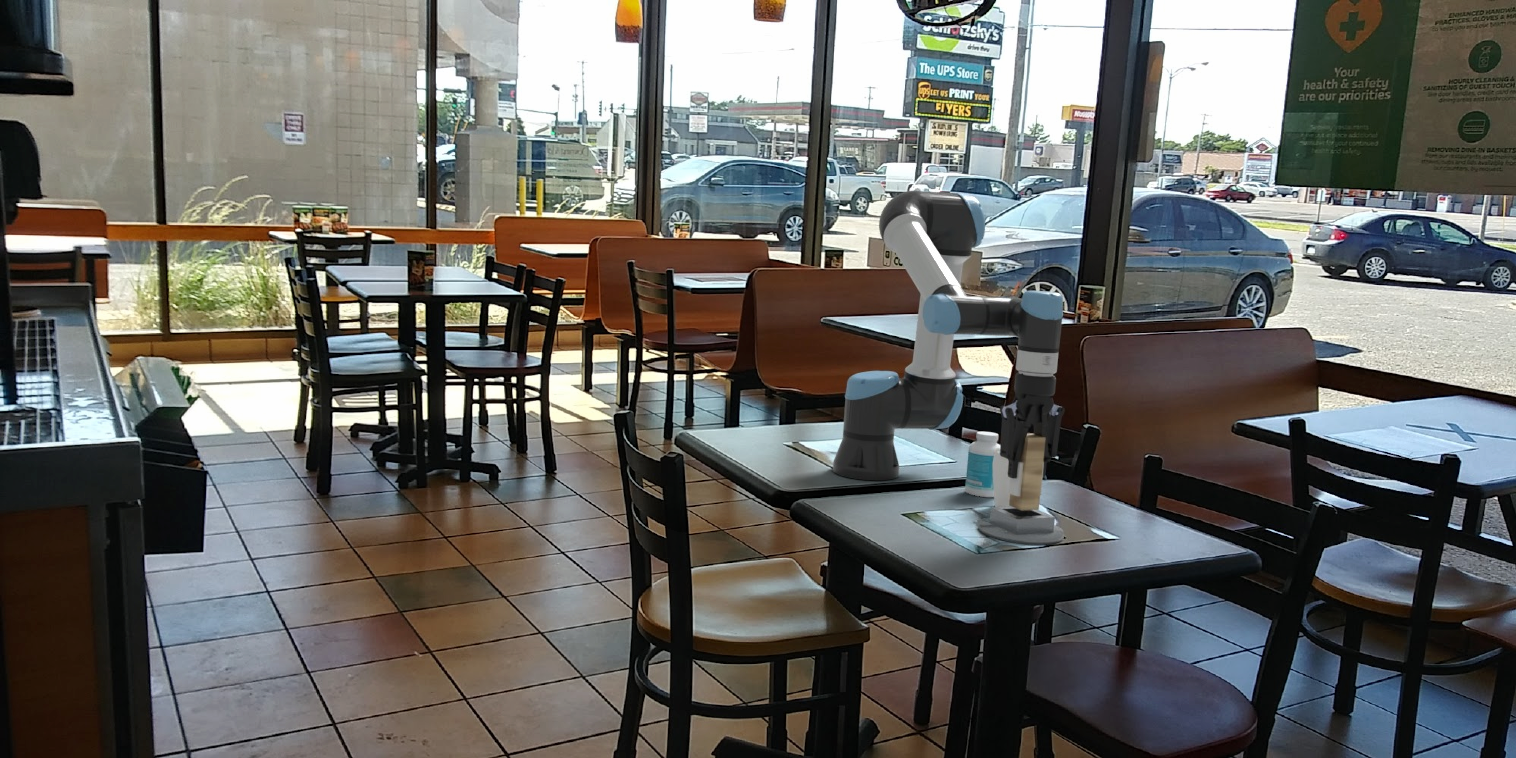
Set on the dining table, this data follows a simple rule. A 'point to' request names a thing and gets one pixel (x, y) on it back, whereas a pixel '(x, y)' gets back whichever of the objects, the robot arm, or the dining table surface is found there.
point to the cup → (1000, 480)
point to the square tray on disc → (1021, 526)
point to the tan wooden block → (1030, 474)
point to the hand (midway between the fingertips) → (1024, 493)
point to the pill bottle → (981, 465)
